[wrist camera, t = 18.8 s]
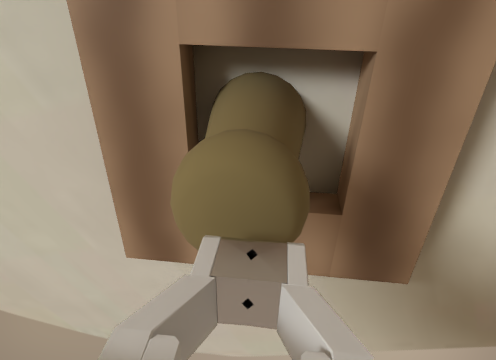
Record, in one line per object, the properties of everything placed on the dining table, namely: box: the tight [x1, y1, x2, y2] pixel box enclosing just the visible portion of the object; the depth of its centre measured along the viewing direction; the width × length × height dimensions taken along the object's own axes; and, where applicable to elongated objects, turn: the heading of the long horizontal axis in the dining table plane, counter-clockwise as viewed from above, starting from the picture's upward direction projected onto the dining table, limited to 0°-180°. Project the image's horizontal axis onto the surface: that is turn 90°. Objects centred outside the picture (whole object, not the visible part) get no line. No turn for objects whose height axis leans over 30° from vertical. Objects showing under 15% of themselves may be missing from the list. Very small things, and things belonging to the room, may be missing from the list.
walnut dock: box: [67, 0, 496, 284], centre depth 19 cm, size 20×20×3 cm
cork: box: [170, 72, 310, 251], centre depth 15 cm, size 6×6×11 cm
